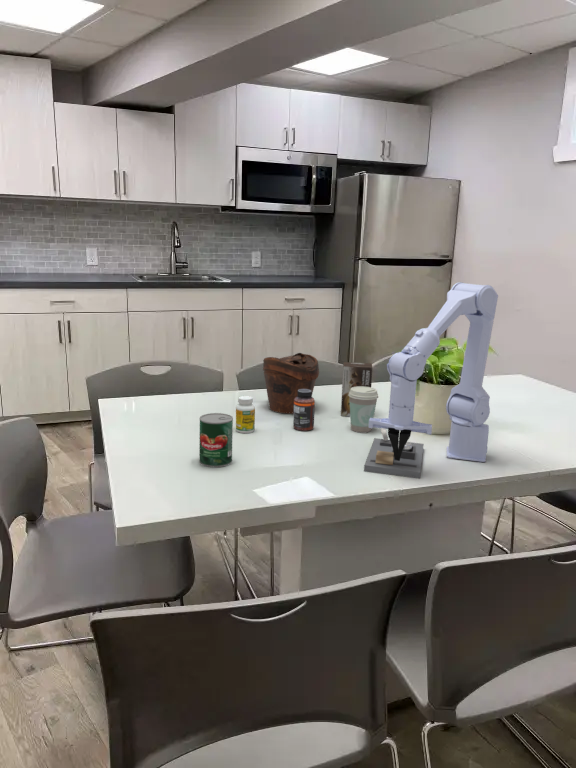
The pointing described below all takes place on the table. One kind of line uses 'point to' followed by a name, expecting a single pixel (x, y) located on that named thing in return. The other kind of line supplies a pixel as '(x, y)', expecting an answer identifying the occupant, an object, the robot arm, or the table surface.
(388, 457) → the block
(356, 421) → the coffee cup
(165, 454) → the table surface
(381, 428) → the off-white toggle lever
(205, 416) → the canned tomato
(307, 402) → the supplement bottle
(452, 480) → the table surface
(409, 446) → the steel push button
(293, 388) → the brown leather bucket
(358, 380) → the coffee box
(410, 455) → the control panel
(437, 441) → the table surface
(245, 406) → the supplement bottle
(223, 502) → the table surface
